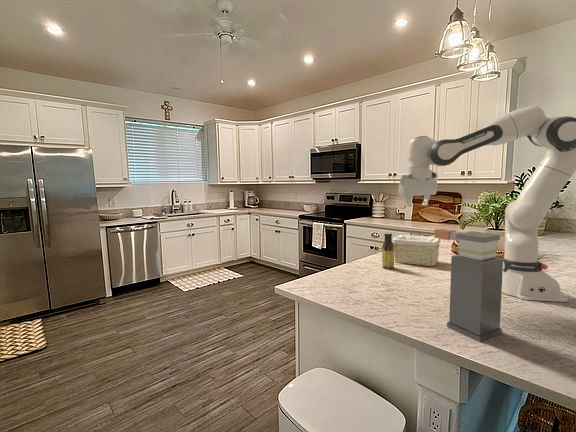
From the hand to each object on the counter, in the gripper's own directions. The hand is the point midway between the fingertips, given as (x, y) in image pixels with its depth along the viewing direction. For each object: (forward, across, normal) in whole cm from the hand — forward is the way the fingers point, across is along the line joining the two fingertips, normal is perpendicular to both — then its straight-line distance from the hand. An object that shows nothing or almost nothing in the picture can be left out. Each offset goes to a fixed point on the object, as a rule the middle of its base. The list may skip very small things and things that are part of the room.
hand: (417, 206), depth 133 cm
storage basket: (+37, +35, +31) cm, 60 cm away
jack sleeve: (+37, -16, -37) cm, 55 cm away
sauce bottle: (+37, +12, +30) cm, 49 cm away
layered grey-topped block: (+29, -16, -32) cm, 46 cm away
